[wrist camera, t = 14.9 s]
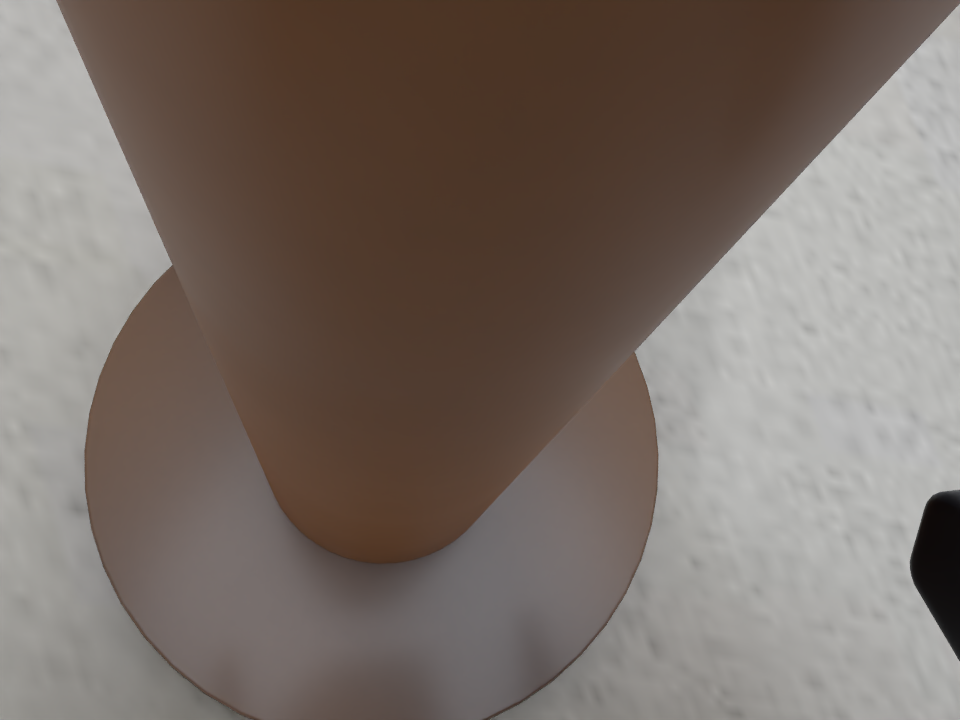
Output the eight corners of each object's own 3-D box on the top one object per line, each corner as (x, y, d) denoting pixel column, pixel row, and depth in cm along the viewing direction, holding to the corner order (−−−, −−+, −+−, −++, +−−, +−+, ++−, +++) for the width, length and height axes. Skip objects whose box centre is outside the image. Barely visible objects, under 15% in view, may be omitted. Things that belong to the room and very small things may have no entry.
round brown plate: (350, 886, 16) (350, 897, 15) (-26, 414, 18) (-43, 403, 17) (750, 469, 20) (766, 462, 19) (408, 116, 22) (411, 97, 21)
